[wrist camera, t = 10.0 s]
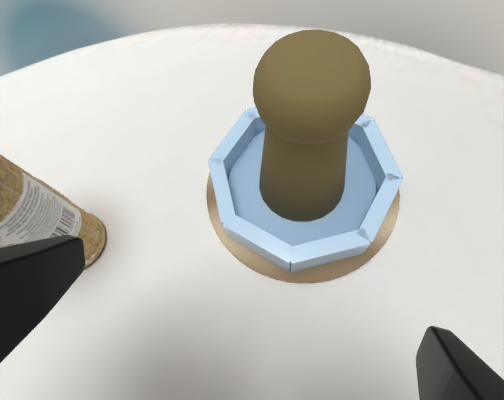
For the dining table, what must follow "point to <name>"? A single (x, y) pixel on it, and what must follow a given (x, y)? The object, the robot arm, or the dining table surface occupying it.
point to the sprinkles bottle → (42, 213)
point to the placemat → (308, 274)
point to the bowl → (314, 232)
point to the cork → (308, 120)
